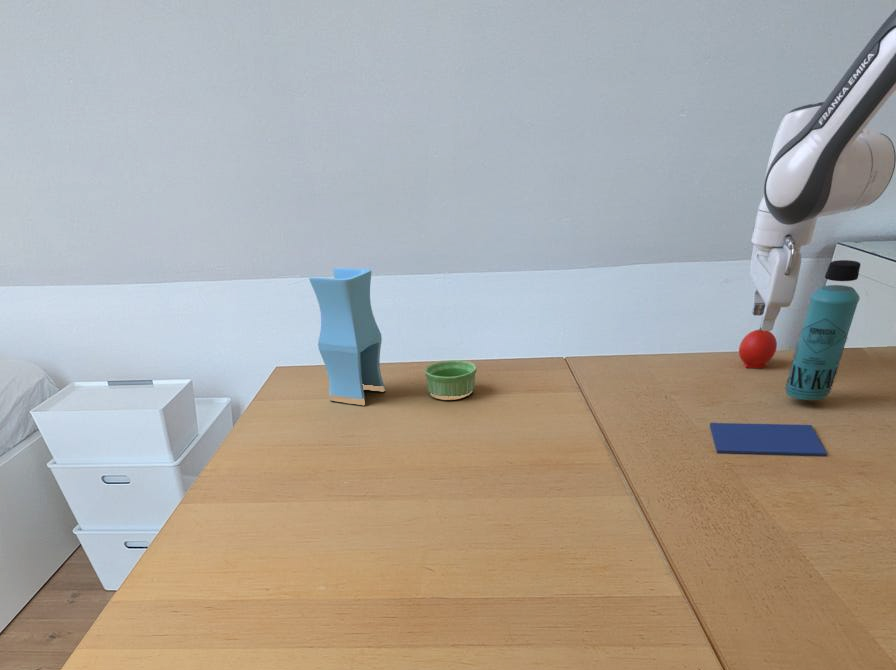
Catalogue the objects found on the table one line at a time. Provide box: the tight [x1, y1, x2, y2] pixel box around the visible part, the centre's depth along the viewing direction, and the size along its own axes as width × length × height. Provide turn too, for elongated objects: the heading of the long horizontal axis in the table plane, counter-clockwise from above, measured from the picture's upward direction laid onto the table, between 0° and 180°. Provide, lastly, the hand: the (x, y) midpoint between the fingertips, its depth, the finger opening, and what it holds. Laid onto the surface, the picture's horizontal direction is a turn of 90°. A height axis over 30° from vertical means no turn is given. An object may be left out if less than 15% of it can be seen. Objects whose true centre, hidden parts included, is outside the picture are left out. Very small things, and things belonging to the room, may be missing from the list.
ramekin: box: [424, 359, 477, 397], centre depth 122 cm, size 9×9×4 cm
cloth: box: [709, 422, 828, 457], centre depth 100 cm, size 14×10×1 cm
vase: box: [308, 267, 385, 399], centre depth 119 cm, size 8×8×20 cm
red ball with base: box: [738, 327, 778, 369], centre depth 122 cm, size 6×6×7 cm
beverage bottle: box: [784, 259, 861, 401], centre depth 104 cm, size 6×7×20 cm
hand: (761, 322), depth 120 cm, fingers open, 8 cm apart
